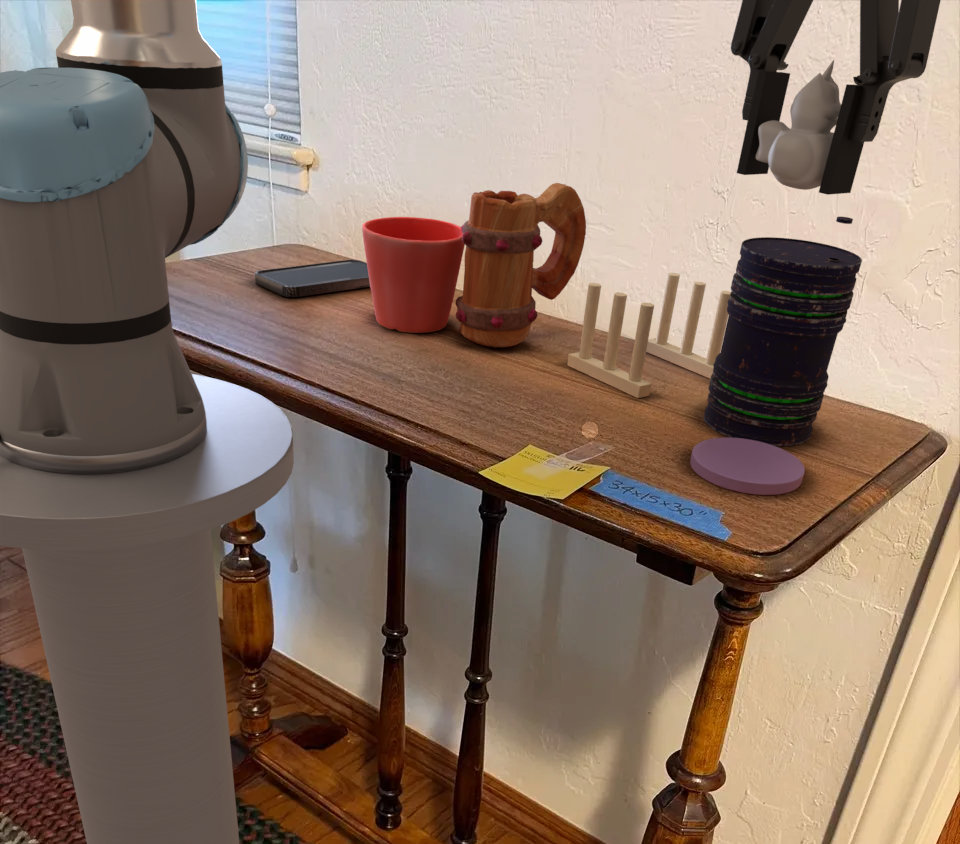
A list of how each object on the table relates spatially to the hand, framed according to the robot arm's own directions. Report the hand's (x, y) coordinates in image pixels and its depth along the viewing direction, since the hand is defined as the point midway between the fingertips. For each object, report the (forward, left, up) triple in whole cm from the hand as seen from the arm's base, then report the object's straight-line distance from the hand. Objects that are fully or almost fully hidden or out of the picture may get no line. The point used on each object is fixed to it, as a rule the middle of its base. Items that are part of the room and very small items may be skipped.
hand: (792, 182), depth 69 cm
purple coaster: (-1, -3, -21) cm, 21 cm away
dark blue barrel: (+8, +3, -21) cm, 23 cm away
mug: (+3, +32, -21) cm, 38 cm away
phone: (-5, +58, -21) cm, 62 cm away
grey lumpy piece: (0, 0, 0) cm, 0 cm away
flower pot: (-4, +41, -21) cm, 46 cm away
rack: (+9, +18, -21) cm, 29 cm away
